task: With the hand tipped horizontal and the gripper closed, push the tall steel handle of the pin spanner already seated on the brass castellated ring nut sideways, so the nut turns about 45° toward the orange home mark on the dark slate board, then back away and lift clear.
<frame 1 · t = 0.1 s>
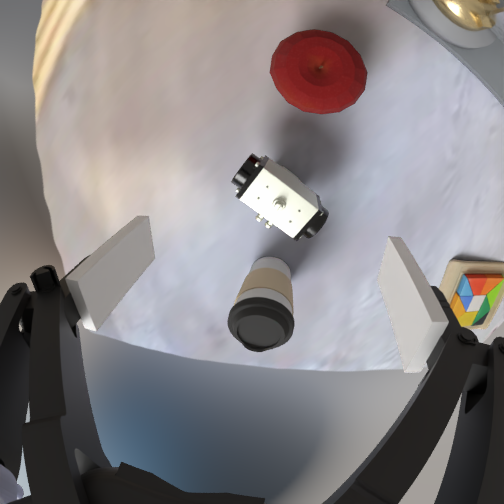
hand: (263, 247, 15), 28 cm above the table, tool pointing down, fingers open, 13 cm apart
pneumatic valve: (282, 182, 41), on the table
nut housing: (446, 6, 21), on the table
wooden puzzle: (468, 295, 45), on the table
coffee cup: (270, 273, 49), on the table
apple: (315, 77, 33), on the table
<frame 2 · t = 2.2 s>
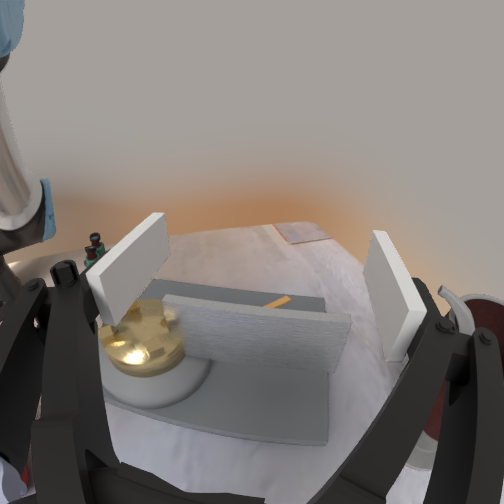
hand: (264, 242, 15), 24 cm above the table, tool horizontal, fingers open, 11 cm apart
nut housing: (154, 366, 35), on the table
mate gourd: (421, 429, 25), on the table
ring nut: (210, 333, 30), point 9 cm above the table, hinge at 0.0°
binoculars: (115, 287, 51), on the table
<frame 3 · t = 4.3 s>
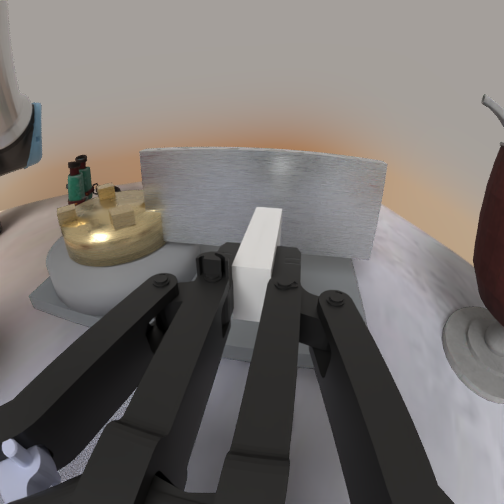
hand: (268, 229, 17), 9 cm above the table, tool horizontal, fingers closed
nut housing: (127, 276, 28), on the table
mate gourd: (485, 352, 18), on the table
ring nut: (198, 198, 23), point 9 cm above the table, hinge at 0.0°
binoculars: (97, 216, 44), on the table
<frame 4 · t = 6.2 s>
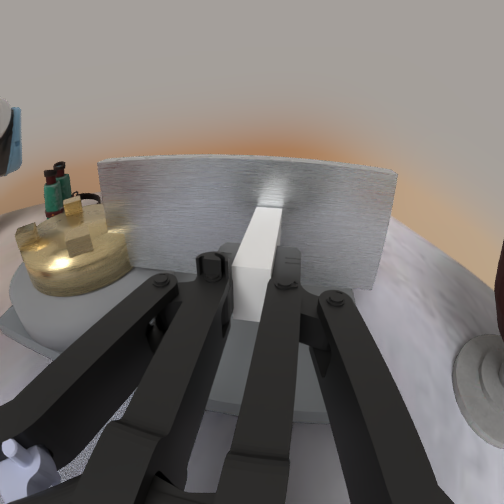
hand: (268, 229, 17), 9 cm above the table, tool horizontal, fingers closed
nut housing: (98, 301, 24), on the table
mate gourd: (498, 388, 14), on the table
ring nut: (165, 217, 19), point 9 cm above the table, hinge at 0.2°, touching gripper
binoculars: (77, 226, 40), on the table
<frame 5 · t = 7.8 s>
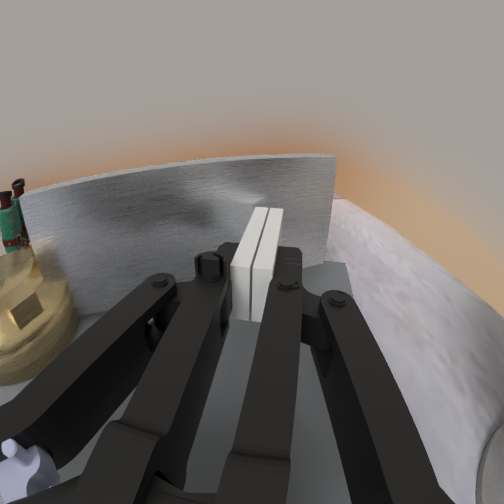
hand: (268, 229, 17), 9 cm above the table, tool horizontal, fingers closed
nut housing: (43, 368, 16), on the table
ring nut: (112, 247, 15), point 9 cm above the table, hinge at 31.9°, touching gripper
binoculars: (40, 254, 32), on the table
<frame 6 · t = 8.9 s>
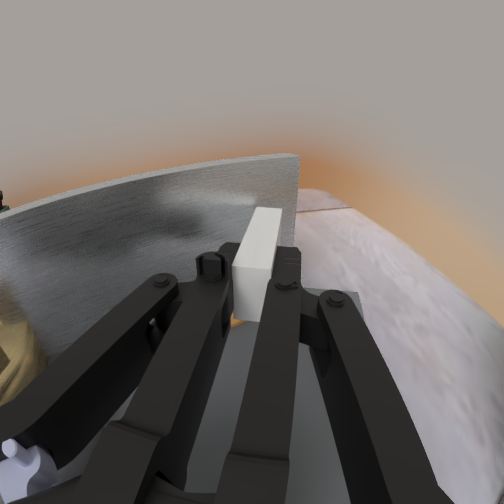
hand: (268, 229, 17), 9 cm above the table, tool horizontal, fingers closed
nut housing: (19, 415, 12), on the table
ring nut: (71, 278, 12), point 9 cm above the table, hinge at 44.6°, touching gripper
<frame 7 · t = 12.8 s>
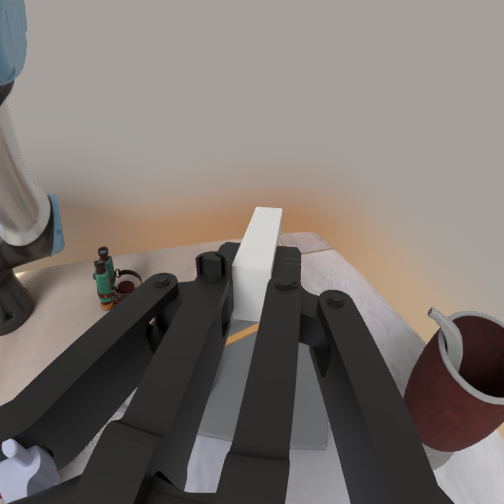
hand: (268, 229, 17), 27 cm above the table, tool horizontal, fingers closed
nut housing: (164, 376, 37), on the table
mate gourd: (415, 434, 27), on the table
ring nut: (210, 310, 38), point 9 cm above the table, hinge at 46.7°
binoculars: (123, 299, 53), on the table
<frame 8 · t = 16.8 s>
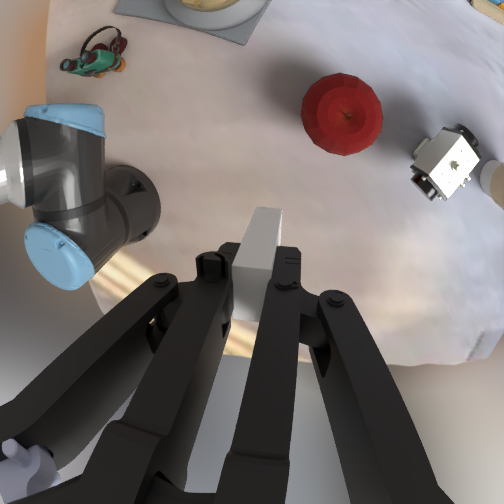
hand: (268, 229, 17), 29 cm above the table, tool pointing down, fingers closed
pneumatic valve: (425, 153, 38), on the table
coffee cup: (491, 177, 36), on the table
apple: (335, 113, 38), on the table
binoculars: (110, 53, 37), on the table
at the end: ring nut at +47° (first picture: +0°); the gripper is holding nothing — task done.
